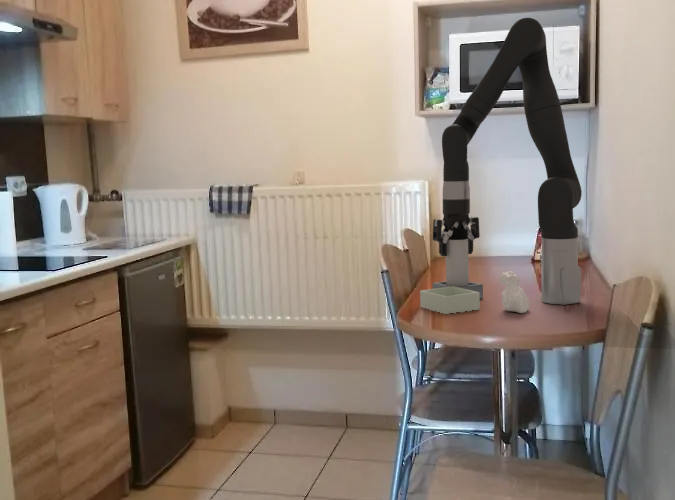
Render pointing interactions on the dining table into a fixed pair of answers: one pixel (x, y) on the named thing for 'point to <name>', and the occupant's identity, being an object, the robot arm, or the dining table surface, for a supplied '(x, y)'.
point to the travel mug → (457, 258)
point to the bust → (513, 293)
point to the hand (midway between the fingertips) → (456, 255)
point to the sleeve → (471, 286)
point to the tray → (450, 300)
